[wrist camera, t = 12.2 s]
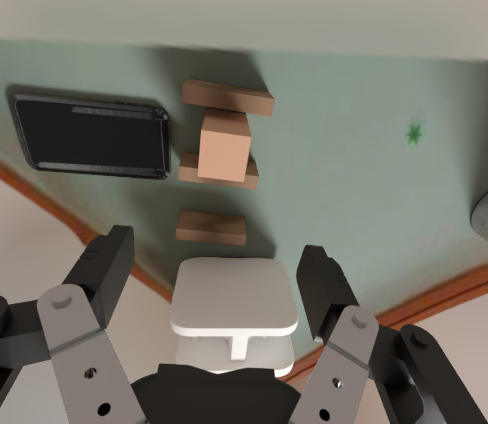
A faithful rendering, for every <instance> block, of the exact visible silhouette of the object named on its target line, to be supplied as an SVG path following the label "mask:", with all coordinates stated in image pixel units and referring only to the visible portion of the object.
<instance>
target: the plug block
mask: <svg viewBox="0 0 488 424" xmlns="http://www.w3.org/2000/svg"><path fill="white" fill-rule="evenodd" d="M250 143H251V133H250V129H249V125H248V120H247V116H246V114H242V113H235V112H228V111H222V110H215V109H209V108H207V112H206V115H205V119H204V122H203V126H202V129H201V139H200V152H199V165H198V177H206V178H214V179H222V180H230V181H238V182H244V178H245V172H246V166H247V160H248V155H249V149H250Z"/></svg>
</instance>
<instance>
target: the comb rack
mask: <svg viewBox="0 0 488 424" xmlns="http://www.w3.org/2000/svg"><path fill="white" fill-rule="evenodd" d="M182 103H187V104H194V105H200V106H207V107H213V108H220V109H226V110H233V111H239V112H246V113H252V114H258V115H265V116H271V114H272V109H273V104H274V98H273V97H272V95H271V94H270V93H269V92H268V91H262V90H256V89H250V88H244V87H237V86H231V85H225V84H219V83H213V82H207V81H201V80H195V79H189V78H188V79H187V80H186V81H185V82H184V83H183V85H182ZM198 165H199V154H194V153H186V152H184V154H183V157H182V159H181V162H180V165H179V175H178V180H182V181H190V182H198V183H206V184H215V185H223V186H231V187H239V188H248V189H256V188H257V183H258V178H259V175H258V171H257V166H256V162H254V161H247V166H246V172H245V178H244V182H238V181H230V180H222V179H214V178H206V177H198ZM246 237H247V233H246V223H245V217H240V216H231V215H222V214H213V213H203V212H194V211H185V210H181V212H180V216H179V220H178V223H177V227H176V239H177V240H188V241H198V242H209V243H219V244H230V245H240V246H245V242H246Z"/></svg>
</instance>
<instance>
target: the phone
mask: <svg viewBox="0 0 488 424" xmlns="http://www.w3.org/2000/svg"><path fill="white" fill-rule="evenodd" d="M9 106H10V109H11V113H12V116H13V119H14V123H15V126H16V129H17V133H18V136H19V139H20V142H21V146H22V149H23V152H24V156H25V159H26V161H27V163H28V164H29V166H31V167H32V168H33V169H36V170H39V171H51V172H64V173H77V174H91V175H104V176H117V177H130V178H143V179H157V180H163V179H166V178H167V177H168V176H169V174H170V172H171V148H170V118H169V115H168V113H167V112H166V111H165V110H164V109H163V108H160V107H154V106H149V105H137V104H131V103H127V104H124V103H123V102H105V101H95V100H85V99H75V98H65V97H55V96H45V95H36V94H26V93H21V94H16V95H14V96H12V97H11V98H10V100H9Z"/></svg>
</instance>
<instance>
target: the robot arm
mask: <svg viewBox="0 0 488 424" xmlns="http://www.w3.org/2000/svg"><path fill="white" fill-rule="evenodd" d="M471 224H472V228H473V229H474V231H475V232H476V233H477V234H479V235H480V236H481V237H482V238H484V239H485V240H486V241H487V242H488V193H487V194H486V195H485V196H484V197H483V198H482V199H481V201H480V202H479V203H478V204H477V206H476V208H475V210H474V211H473V214H472V218H471ZM134 256H135V251H134V231H133V227H130V226H120V225H114V226H113V227H112V229H111V231H110V232H109V234H108V236H106V235H99V236H98V237H97V238H95V239H94V240H92V241H91V242H90V243H89V244H88V246H87V247H86V249H85V251H84V252H83V253H82V255H81V256H80V259H78V261H77V262H76V264H75V265H74V267H73V268H72V270H71V271H70V273H69V274H68V275H67V277H66V279H65V280H64V281H63V283H62V284H61V285H59V286H56V287H53V288H51V289H49V290H48V291H46V292H45V293H43V294H42V296H40V298H39V299H38V300H34V301H28V302H22V303H16V304H10V305H8V303H7V300H6V299H5V298H4V297H2V296H0V407H1V405H2V403H3V401H4V400H5V398H6V396H7V394H8V392H9V391H10V389H11V387H12V385H13V383H14V382H15V380H16V378H17V376H18V374H19V373H20V371H21V369H22V367H23V366H25V365H29V364H33V363H37V362H41V361H46V360H50V359H51V360H52V364H53V367H54V371H55V375H56V378H57V382H58V385H59V389H60V392H61V396H62V399H63V403H64V406H65V410H66V413H67V417H68V420H69V424H354V421H355V418H356V414H357V411H358V408H359V404H360V401H361V398H362V394H363V391H364V387H365V384H366V381H367V378H370V379H372V380H374V381H375V384H376V387H377V389H378V392H379V395H380V397H381V400H382V403H383V406H384V408H385V411H386V413H387V416H388V419H389V422H390V424H488V422H487V421H486V419H485V417H484V416H483V414H482V413H481V411H480V409H479V408H478V406H477V405H476V403H475V402H474V400H473V398H472V397H471V395H470V394H469V392H468V390H467V389H466V387H465V385H464V384H463V382H462V381H461V379H460V377H459V376H458V374H457V373H456V371H455V369H454V368H453V366H452V365H451V363H450V362H449V360H448V358H447V357H446V355H445V354H444V352H443V350H442V349H441V347H440V346H439V344H438V342H437V341H436V340H435V338H434V337H433V336H432V335H431V334H430V333H428V332H427V331H426V330H424V329H422V328H421V327H418V326H415V325H411V324H407V325H404V326H403V327H402V328H401V329H400V331H397V330H394V329H391V328H388V327H385V326H382V325H380V324H378V322H377V320H376V318H375V317H374V316H373V315H372V314H371V313H370V312H369V311H367V310H366V309H364V308H362V307H360V306H359V304H358V302H357V300H356V298H355V296H354V294H353V292H352V289H351V287H350V285H349V283H347V279H346V277H345V276H344V273H343V271H342V269H341V267H340V265H339V264H338V263H337V262H336V261H335V260H334V259H333V258H329V257H327V255H326V252H325V250H324V248H323V247H322V246H314V245H306V246H305V248H304V250H303V253H302V256H301V259H300V262H299V265H298V268H297V274H296V278H297V284H298V287H299V291H300V294H301V298H302V301H303V305H304V309H305V312H306V316H307V319H308V323H309V326H310V330H311V334H312V337H313V341H314V342H323V343H324V347H325V348H324V350H323V352H322V354H321V356H320V358H319V360H318V362H317V364H316V366H315V368H314V370H313V372H312V374H311V376H310V378H309V380H308V382H307V384H306V386H305V388H304V390H303V392H302V394H300V393H299V392H298V391H297V390H296V389H294V388H293V387H292V386H290V385H289V384H287V383H285V382H283V381H281V380H279V379H276V378H275V372H274V369H269V368H242V369H238V370H234V371H229V372H225V373H220V374H216V373H213V372H210V371H206V370H203V369H200V368H197V367H194V366H190V365H180V364H159V367H158V372H157V373H155V374H151V375H148V376H145V377H143V378H141V379H139V380H137V381H135V382H134V383H132V384H130V383H129V381H128V379H127V377H126V374H125V372H124V370H123V368H122V366H121V364H120V361H119V360H118V357H117V355H116V353H115V351H114V348H113V346H112V344H111V342H110V340H109V338H108V335H107V333H106V331H105V330H104V329H106V328H107V326H108V324H109V321H110V319H111V317H112V314H113V312H114V309H115V307H116V304H117V302H118V300H119V297H120V295H121V293H122V290H123V288H124V286H125V283H126V281H127V278H128V276H129V274H130V271H131V269H132V266H133V263H134ZM101 328H102V329H101ZM419 394H420V395H419ZM420 396H421V397H420ZM421 398H422V399H421Z"/></svg>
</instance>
